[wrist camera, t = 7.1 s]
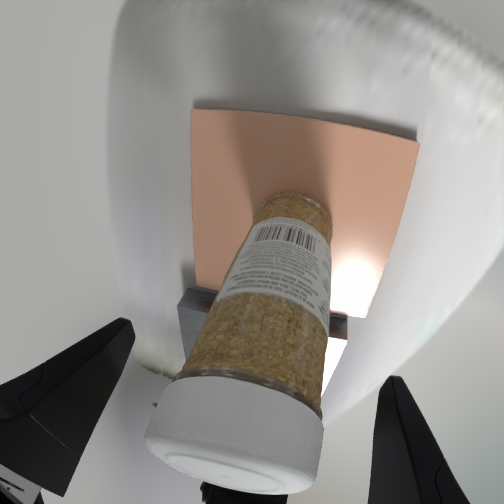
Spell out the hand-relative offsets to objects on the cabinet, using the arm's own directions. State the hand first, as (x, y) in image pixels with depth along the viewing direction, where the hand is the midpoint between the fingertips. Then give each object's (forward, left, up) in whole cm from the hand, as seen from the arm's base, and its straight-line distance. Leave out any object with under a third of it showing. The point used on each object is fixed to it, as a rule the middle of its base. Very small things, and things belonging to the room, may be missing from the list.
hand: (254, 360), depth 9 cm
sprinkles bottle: (0, 0, -10) cm, 10 cm away
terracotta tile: (0, 0, -10) cm, 10 cm away
